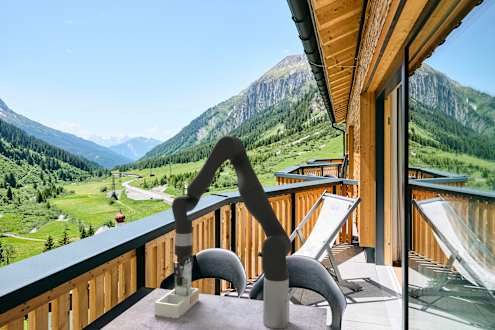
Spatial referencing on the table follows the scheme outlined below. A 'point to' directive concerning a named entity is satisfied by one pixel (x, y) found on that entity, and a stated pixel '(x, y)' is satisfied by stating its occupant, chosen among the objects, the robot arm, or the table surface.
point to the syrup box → (184, 281)
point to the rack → (175, 303)
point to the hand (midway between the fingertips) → (183, 282)
